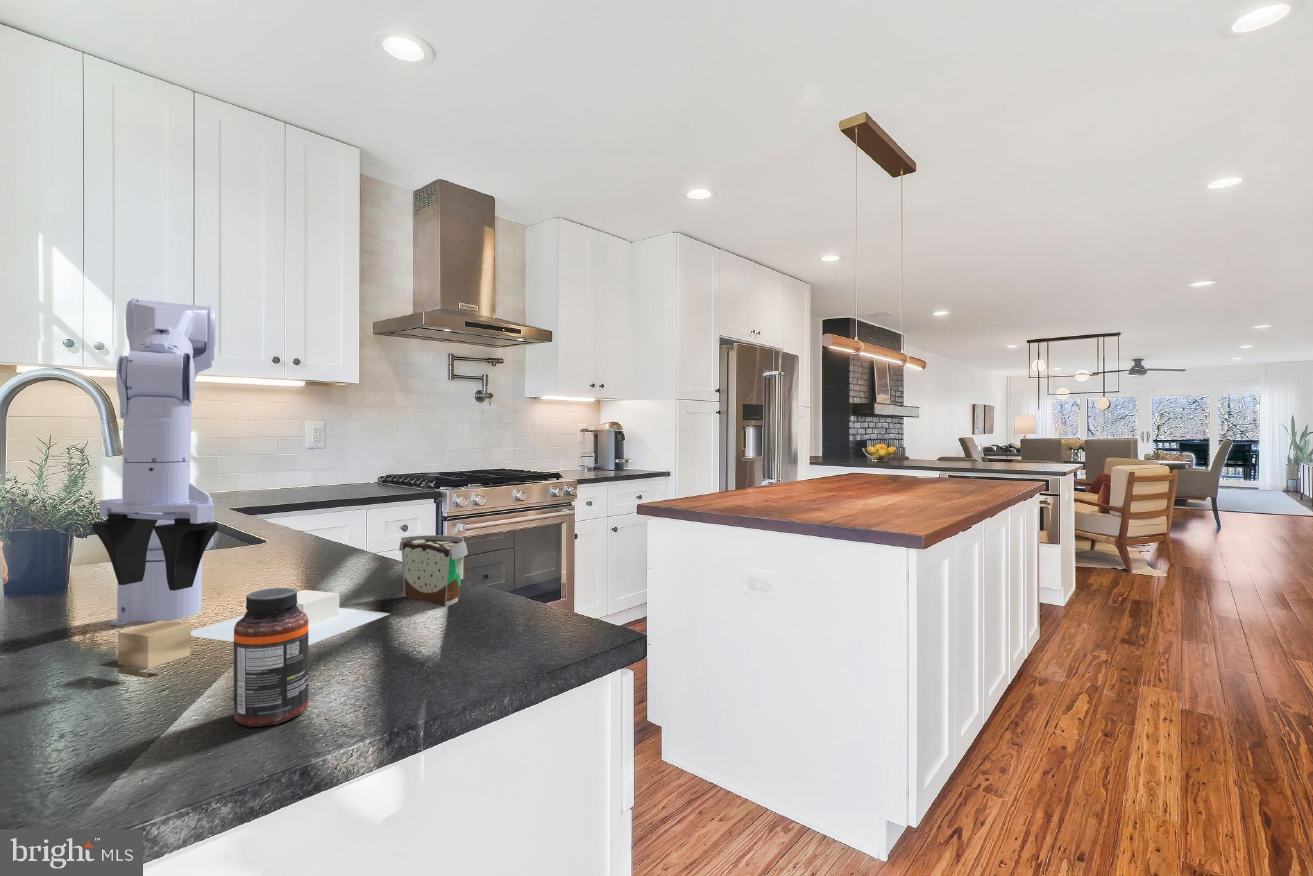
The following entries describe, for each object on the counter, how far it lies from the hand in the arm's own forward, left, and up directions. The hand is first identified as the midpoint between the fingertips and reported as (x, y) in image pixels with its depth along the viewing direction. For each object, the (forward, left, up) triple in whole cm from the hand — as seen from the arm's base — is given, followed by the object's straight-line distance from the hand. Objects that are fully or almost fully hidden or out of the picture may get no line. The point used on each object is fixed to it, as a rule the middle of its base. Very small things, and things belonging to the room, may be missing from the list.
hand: (155, 585), depth 70 cm
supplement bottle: (+22, -5, -9) cm, 24 cm away
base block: (+3, +17, -8) cm, 19 cm away
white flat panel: (+3, +15, -9) cm, 18 cm away
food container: (+13, +33, -9) cm, 37 cm away
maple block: (0, 0, -9) cm, 9 cm away
